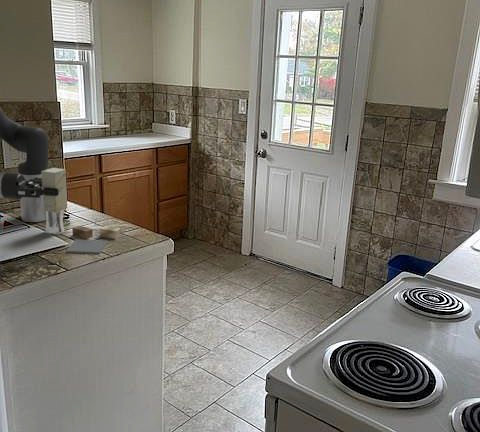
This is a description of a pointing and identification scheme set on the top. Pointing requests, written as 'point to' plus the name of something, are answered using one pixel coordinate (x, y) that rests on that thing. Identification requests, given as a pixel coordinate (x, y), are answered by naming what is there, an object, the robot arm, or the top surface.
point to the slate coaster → (87, 246)
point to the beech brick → (110, 232)
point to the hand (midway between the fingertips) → (62, 188)
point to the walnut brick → (82, 232)
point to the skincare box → (55, 180)
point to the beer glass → (54, 222)
